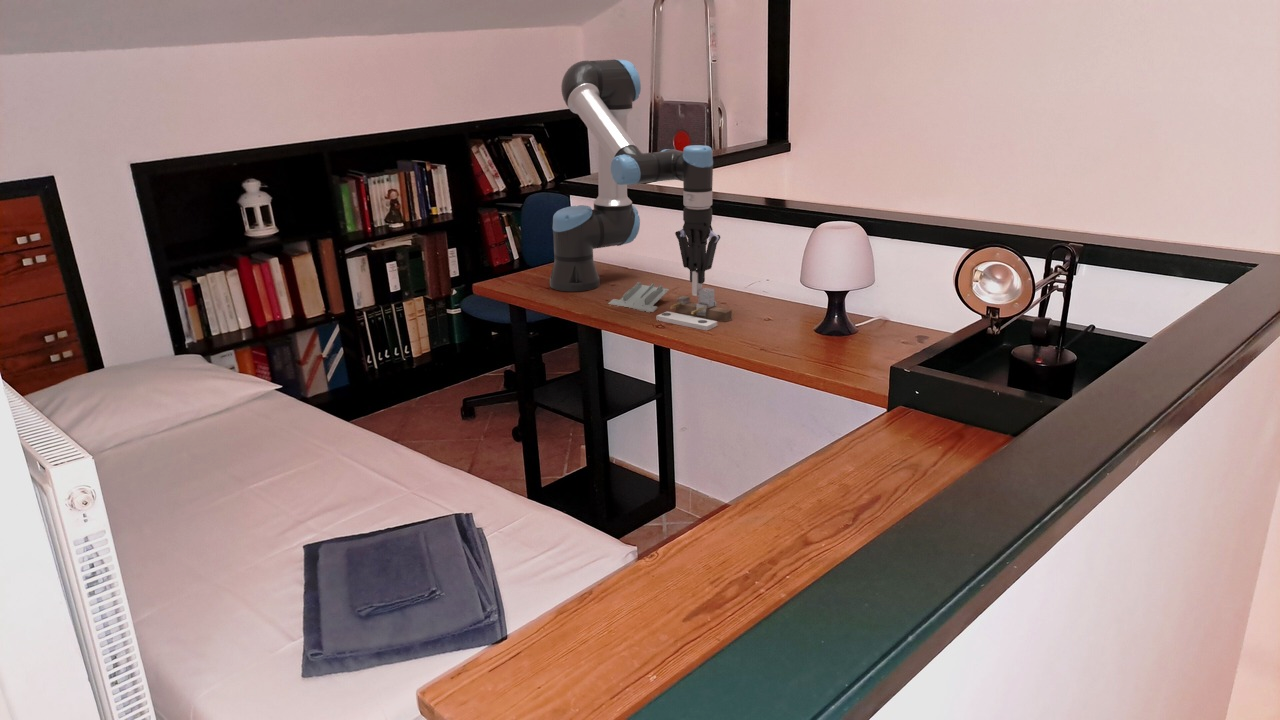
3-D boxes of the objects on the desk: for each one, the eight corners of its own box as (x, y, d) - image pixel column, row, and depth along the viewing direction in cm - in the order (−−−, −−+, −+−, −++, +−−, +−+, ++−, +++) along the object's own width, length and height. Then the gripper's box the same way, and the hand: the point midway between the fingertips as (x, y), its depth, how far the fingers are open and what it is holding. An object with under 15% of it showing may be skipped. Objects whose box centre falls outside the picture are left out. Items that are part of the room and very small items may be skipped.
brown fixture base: (666, 315, 246) (666, 301, 245) (681, 309, 252) (681, 295, 250) (716, 326, 237) (717, 311, 236) (731, 319, 242) (731, 304, 241)
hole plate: (656, 320, 243) (656, 315, 242) (667, 315, 246) (667, 310, 246) (706, 330, 233) (707, 325, 233) (717, 325, 237) (717, 321, 237)
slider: (687, 318, 241) (687, 294, 239) (706, 310, 248) (707, 286, 246) (696, 320, 239) (697, 296, 237) (716, 311, 246) (716, 288, 244)
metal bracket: (631, 276, 265) (675, 283, 257) (635, 293, 268) (678, 301, 260) (604, 301, 255) (649, 309, 247) (608, 318, 258) (652, 327, 251)
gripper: (668, 206, 238) (669, 293, 246) (710, 211, 231) (709, 301, 238) (685, 202, 244) (685, 287, 252) (726, 207, 236) (725, 295, 244)
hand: (697, 294), depth 245 cm, fingers closed
